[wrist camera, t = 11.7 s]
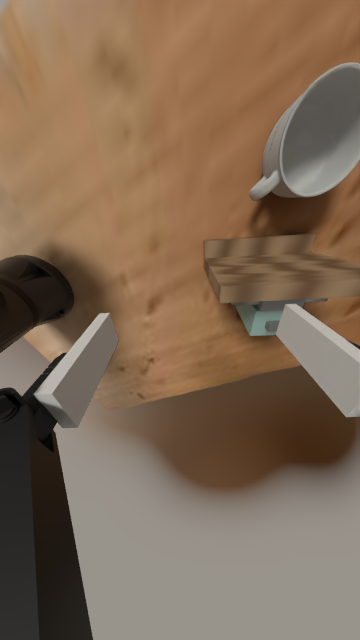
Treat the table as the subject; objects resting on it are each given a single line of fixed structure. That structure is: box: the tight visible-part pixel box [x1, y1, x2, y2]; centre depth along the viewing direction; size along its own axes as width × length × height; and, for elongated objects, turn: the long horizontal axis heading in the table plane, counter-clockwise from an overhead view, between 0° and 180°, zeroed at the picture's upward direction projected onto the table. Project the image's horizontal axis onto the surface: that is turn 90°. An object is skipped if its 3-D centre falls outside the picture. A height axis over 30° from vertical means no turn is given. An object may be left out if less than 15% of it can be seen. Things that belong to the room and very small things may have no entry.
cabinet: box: [236, 299, 306, 336], centre depth 28 cm, size 7×9×10 cm
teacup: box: [250, 63, 360, 201], centre depth 23 cm, size 14×11×8 cm
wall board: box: [204, 233, 360, 306], centre depth 26 cm, size 20×8×18 cm, turn 94°
